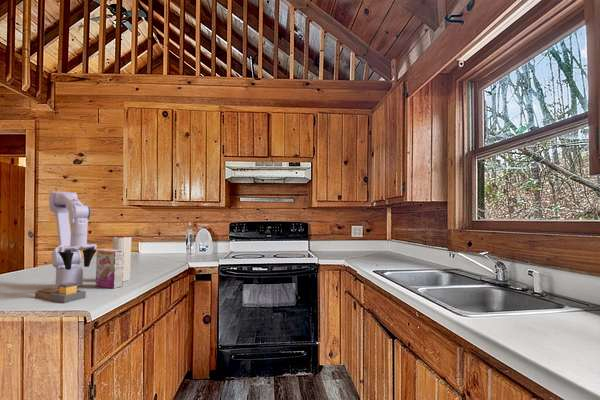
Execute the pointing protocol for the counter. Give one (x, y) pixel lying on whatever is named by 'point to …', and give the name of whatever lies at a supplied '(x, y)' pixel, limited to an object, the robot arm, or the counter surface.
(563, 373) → the counter surface
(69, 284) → the plug
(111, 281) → the candy bar box
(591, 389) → the counter surface
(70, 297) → the lower socket
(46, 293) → the upper socket
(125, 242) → the paper towel roll
